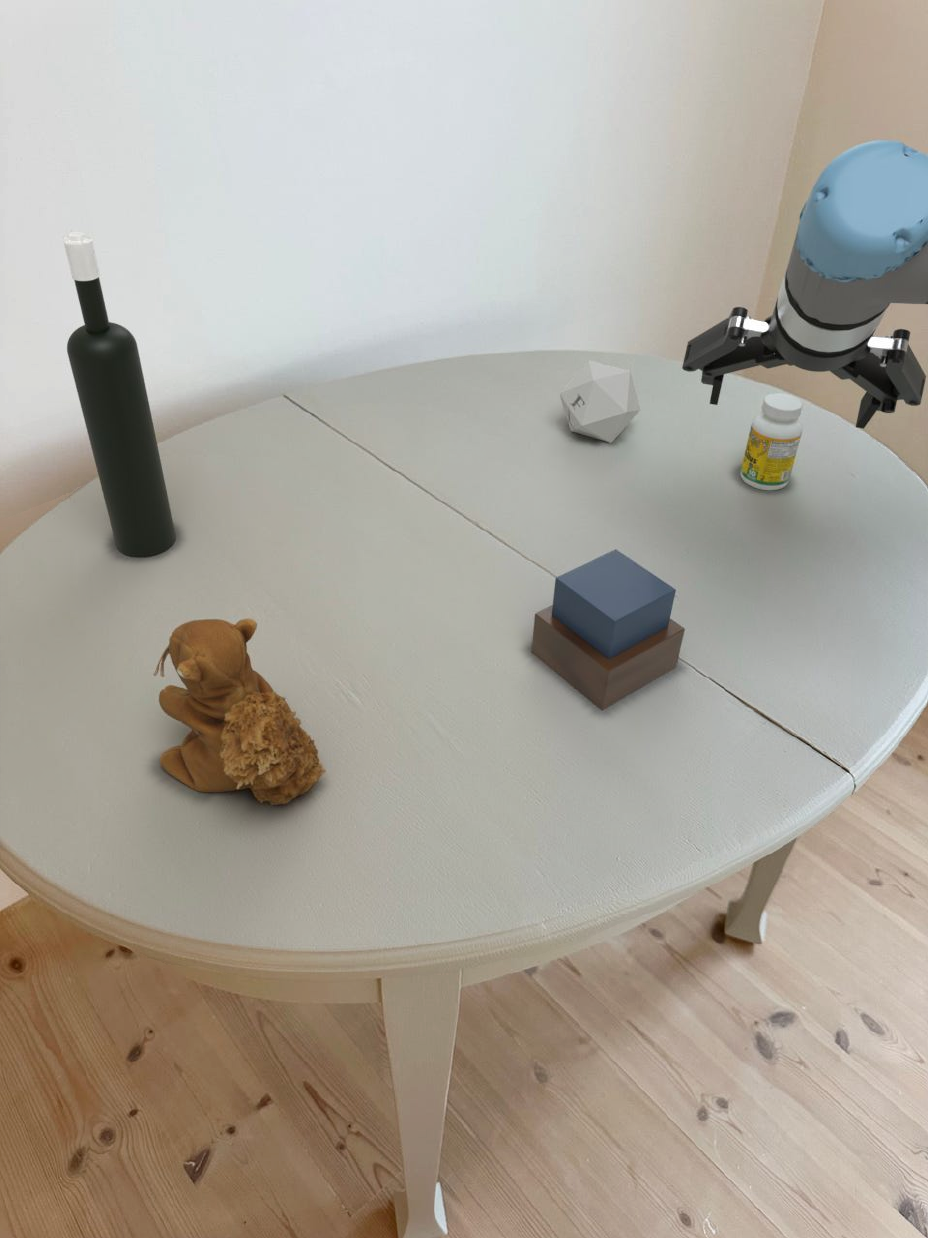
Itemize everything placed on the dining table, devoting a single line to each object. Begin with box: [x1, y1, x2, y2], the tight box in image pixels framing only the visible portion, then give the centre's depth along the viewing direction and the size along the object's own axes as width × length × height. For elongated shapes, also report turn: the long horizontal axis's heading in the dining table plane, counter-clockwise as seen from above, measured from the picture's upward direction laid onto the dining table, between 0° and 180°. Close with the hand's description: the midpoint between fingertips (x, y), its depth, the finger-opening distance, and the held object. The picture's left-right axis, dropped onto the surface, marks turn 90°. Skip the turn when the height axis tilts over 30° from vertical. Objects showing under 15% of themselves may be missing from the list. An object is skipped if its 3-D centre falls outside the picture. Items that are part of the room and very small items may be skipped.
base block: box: [531, 604, 686, 711], centre depth 82 cm, size 9×9×4 cm
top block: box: [552, 549, 677, 659], centre depth 80 cm, size 7×7×4 cm
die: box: [558, 359, 641, 444], centre depth 113 cm, size 8×9×10 cm
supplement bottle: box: [740, 392, 804, 491], centre depth 105 cm, size 5×5×10 cm
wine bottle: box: [62, 230, 177, 559], centre depth 86 cm, size 6×6×30 cm
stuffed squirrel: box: [153, 618, 327, 806], centre depth 69 cm, size 10×14×13 cm
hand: (788, 402), depth 91 cm, fingers open, 13 cm apart
